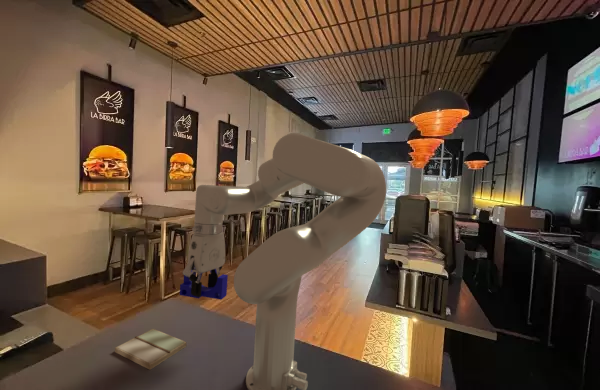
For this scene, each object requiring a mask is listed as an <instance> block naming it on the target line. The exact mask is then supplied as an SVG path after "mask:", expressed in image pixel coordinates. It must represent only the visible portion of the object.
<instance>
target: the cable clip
mask: <svg viewBox="0 0 600 390" xmlns="http://www.w3.org/2000/svg"><path fill="white" fill-rule="evenodd" d="M191 273H192V270H191ZM195 276H196V277H197V274H196V275H195ZM228 277H229V275H228V274H224V273H223V274H220V276H218V279H217V283H216V285H215V286H214V287H208V286H205V285H203V284H202V289H201V296H200V297H197V296H194V295H191V285H192V281H190V279H189V278H187V276H185V275H184V274H183V282H181V284H180V286H179V296H182V297H188V298H194V299H200V298H201V297H204V298H210V299H216V300H220V301H221V300H223V299H224V298H225V297H227V294H228V293H227V292H228V291H227V289H228Z"/></svg>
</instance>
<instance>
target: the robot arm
mask: <svg viewBox="0 0 600 390" xmlns="http://www.w3.org/2000/svg"><path fill="white" fill-rule="evenodd" d="M272 150H273V151H272V158H270V159H268V160H266V161H264V162H263V163H261V164H260V166H259V167H258V170H257V176H258V180H257V181H255V182H253V183H251V184H249V185H246V186H234V185H231V186H229V185H215V184H214V185H213V184H201V185H198V186H196V191H195V192H196V193H195V205H194V206H195V207H194V224H193V225H194V226H193V227H192V229H191V230H192V232H193V234H192V235H191V239H190V243H189V247H188V248H189V250H188V258H187V265H186V266H185V268H184V269H183V271H182V274H183V276H184V275H185V276H187V278H189V279H190V281H192V285H191V295H194V296H197V297H200V296H201V289H202V285H203V283H202V281H201V279H202V276H203V274H204V273H207V272H209V274H208V278H207V287H214V286H215V285H216V283H217V279H218V277H219V275H221V270H222V268H223V266H224V265H225V263H226V261H227V259H226V242H225V241H226V240H225V239H226V238H225V235H224V232H223V221H224V216H229V215H237V214H239V215H240V214H248V213H251V212H254V211H257V210H260V209H261V208H264V207H266V206H268V205H269V204H272V203H273V202H274V201H275V200H276V199H277V198H278V197H279V196H281V194H284V193H286V192H288V191H290V190H292V189H294V188H296V187H298V186H301V185H303V184H306V185H309V186H310V187H313V188H315V189H317V190H320V191H322V192H325V193H328V194H329V195H333V196H336V197H339V198H337V200H335V201H334V202H332V203H331V204H329V205H327V207H325V208H324V209H323V210H322V211H321V212H320V213H318V214H317V215H316V216H314V217H313V218H312V219H311V220H309V221H307V222H306V223H304V224H300V225H297V226H292V227H288V228H285V229H281V230H279V231H277V232H276V233H274V234H272V235H271V236H270V237H267V239H266V240H265V241H264V242H263V243H261V244H260V245H259V246H258V247H257V248H255V249H254V250H253V251H252V252H251V253H250V254H248V255H247V256H246V257H245V258H244V259H243V260H242V261H241V262H240V263H239V264H238V266H237V268H236V270H235V272H234V277H233V288H234V291H235V293H236V295H237V297H238V298H239V299H240V300H242V301H243V302H245V303H247V304H251V305H256V311H255V312H256V313H255V329H254V330H255V331H254V346H253V347H254V348H253V350H254V351H253V365H252V366H251V367H250V368H249V369H248V371H247V373H246V376H245V383H246V384H245V385H246V388H247V390H297V389H298V390H307V389H308V384H309V382H308V380H307V378H308V374H307V373H305V372H303V371H300V370H299V369H298V362H297V361H296V360H294V355H295V354H294V353H295V342H296V341H295V340H296V339H295V338H296V320H297V309H298V308H297V307H298V298H299V297H298V296H299V292H300V286H301V282H302V277H303V276H304V275H305V274H307V273H309V272H311V271H313V270H315V269H316V268H318V267H319V266H321V265H322V264H323V263H324V262H326V260H327V259H329V258H330V257H331V256H332V255H334V254H335V253H336V252H338V251H339V250H340V249H341V248H343V247H344V246H346V245H347V244H348V243H349V242H350V241H352V240H353V239H354V238H356V237H357V236H358V235H360V234H361V233H362V232H364V231H365V230H366V229H367V228H369V226H370V225H371V224H372V223H374V221H375V220H376V218H378V216H379V214H380V212H381V210H382V208H383V206H384V203H385V201H386V195H387V183H386V177H385V175H384V171H383V170H382V168H381V166H380V165H379V164H378V163H377V162H376V161H375V160H374V159H373V158H370V157H368V156H367V155H364V154H362V153H359V152H357V151H355V150H353V149H350V148H347V147H343V146H342V145H341V146H340V145H337V144H334V143H329V142H327V141H323V140H321V139H317V138H314V137H311V136H309V135H306V134H303V133H301V132H292V133H288V134H285V135H283V136H281V138H279V140H278V141H277V142H276V143H275V145H274V147H273V149H272ZM191 270H192V273H191ZM195 275H196V276H195ZM200 298H201V297H200Z"/></svg>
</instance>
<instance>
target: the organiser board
mask: <svg viewBox="0 0 600 390" xmlns="http://www.w3.org/2000/svg"><path fill="white" fill-rule="evenodd" d="M186 347H187V342H186V341H185V340H183V339H180V338H177V337H175V336H172V335H170V334H168V333H165V332H163V331H161V330H157V329H156V328H152V329H149V330H148V331H145V332H144V333H142V334H140V335H137V336H134V338H131V339H129V340H128V341H126V342H124V343H122V344H120V345H118V346H115V348H114V353H116V354H118V355H120V356H121V357H124V358H126V359H128V360H130V361H132V362H134V363H135V364H137V365H139V366H142V367H143V368H145V369H148V370H149V371H150V370H152V369H154V368H155V367H157V366H158V365H160V364H161V363H163V362H165V361H166V360H167V359H169V358H171V357H172V356H174V355H176V354H177V353H179V352H180V351H181V350H183V349H185V348H186Z"/></svg>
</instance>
